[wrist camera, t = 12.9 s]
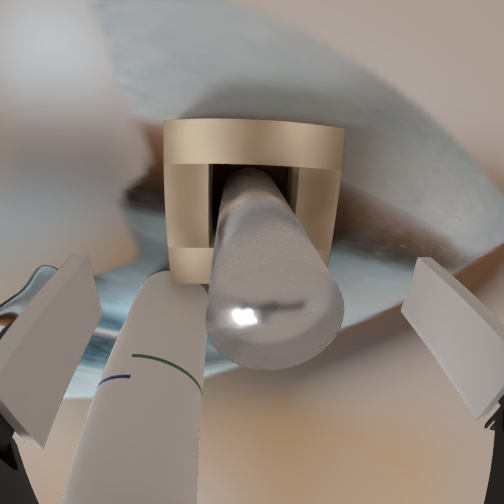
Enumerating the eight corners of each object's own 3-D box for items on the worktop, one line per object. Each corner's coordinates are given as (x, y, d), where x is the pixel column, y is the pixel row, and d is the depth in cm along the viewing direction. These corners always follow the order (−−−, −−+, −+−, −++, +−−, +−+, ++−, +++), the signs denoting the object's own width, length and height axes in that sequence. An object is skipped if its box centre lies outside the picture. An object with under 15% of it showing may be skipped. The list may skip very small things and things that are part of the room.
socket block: (179, 259, 25) (171, 282, 22) (175, 120, 20) (163, 120, 17) (312, 261, 26) (324, 284, 23) (327, 126, 21) (345, 128, 18)
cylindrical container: (126, 281, 26) (24, 544, 3) (194, 261, 26) (143, 596, 3) (157, 335, 29) (112, 571, 6) (219, 321, 29) (219, 591, 6)
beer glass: (76, 324, 28) (22, 426, 15) (29, 298, 26) (-35, 385, 13) (84, 278, 26) (10, 389, 12) (33, 250, 24) (-54, 338, 10)
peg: (222, 167, 22) (202, 259, 8) (278, 168, 22) (357, 260, 8) (221, 219, 24) (209, 370, 10) (274, 220, 24) (329, 366, 10)
